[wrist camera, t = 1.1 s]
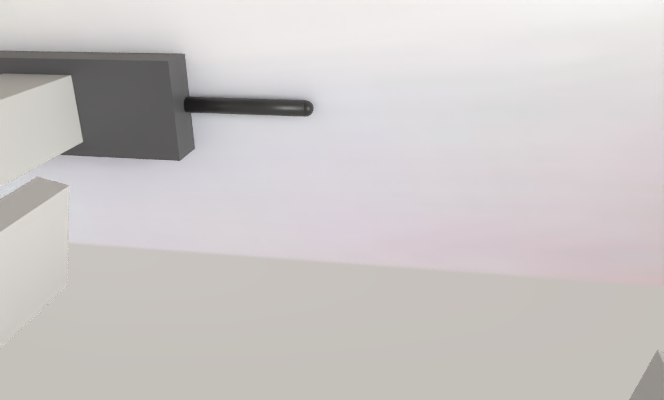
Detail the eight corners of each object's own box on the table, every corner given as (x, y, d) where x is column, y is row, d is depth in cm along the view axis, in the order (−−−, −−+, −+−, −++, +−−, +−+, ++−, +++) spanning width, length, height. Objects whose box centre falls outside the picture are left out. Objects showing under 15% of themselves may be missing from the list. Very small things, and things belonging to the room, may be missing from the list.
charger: (36, 130, 43) (-108, 195, 32) (22, 67, 41) (-134, 113, 30) (98, 133, 42) (-27, 201, 31) (88, 69, 40) (-49, 116, 30)
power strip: (-107, 135, 46) (-143, 147, 43) (-133, 48, 44) (-174, 56, 41) (316, 154, 40) (305, 170, 38) (313, 56, 38) (302, 65, 35)
